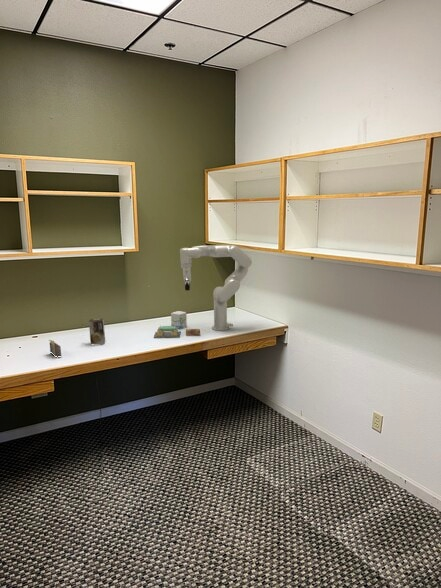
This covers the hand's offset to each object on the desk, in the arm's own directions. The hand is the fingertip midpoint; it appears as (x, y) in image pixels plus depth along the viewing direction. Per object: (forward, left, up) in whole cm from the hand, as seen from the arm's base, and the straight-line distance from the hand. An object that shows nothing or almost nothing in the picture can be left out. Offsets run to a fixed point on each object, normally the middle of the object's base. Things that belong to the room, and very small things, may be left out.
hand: (187, 288), depth 304 cm
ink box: (+7, -9, -31) cm, 33 cm away
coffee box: (+59, +26, -31) cm, 72 cm away
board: (+14, +11, -27) cm, 33 cm away
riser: (-4, +11, -31) cm, 33 cm away
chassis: (+14, +11, -31) cm, 36 cm away
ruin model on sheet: (+79, +49, -32) cm, 99 cm away
